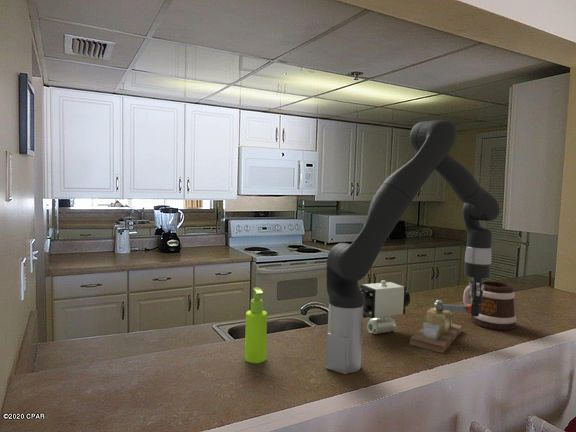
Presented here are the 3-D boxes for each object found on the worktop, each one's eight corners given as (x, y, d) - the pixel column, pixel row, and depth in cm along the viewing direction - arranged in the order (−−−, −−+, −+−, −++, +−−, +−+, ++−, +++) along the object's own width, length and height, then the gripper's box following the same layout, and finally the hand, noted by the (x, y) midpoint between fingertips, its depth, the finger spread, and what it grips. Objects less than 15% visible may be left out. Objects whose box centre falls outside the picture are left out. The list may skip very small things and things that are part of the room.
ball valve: (392, 324, 145) (395, 275, 144) (409, 332, 137) (411, 281, 136) (350, 330, 137) (352, 279, 136) (365, 339, 130) (367, 284, 128)
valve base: (442, 353, 120) (443, 346, 120) (409, 344, 126) (410, 338, 126) (461, 331, 140) (461, 325, 140) (432, 324, 146) (432, 319, 146)
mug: (524, 327, 146) (527, 286, 145) (501, 334, 138) (503, 291, 137) (474, 312, 163) (476, 275, 162) (450, 317, 155) (452, 279, 154)
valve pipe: (439, 341, 124) (440, 319, 123) (419, 337, 127) (420, 315, 127) (453, 326, 138) (454, 306, 138) (435, 322, 142) (436, 303, 141)
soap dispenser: (247, 365, 108) (249, 292, 107) (243, 355, 115) (244, 285, 113) (268, 363, 109) (270, 291, 108) (263, 353, 116) (265, 285, 115)
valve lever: (435, 311, 131) (435, 301, 131) (433, 308, 134) (433, 299, 134) (478, 314, 130) (478, 304, 129) (475, 311, 132) (476, 301, 132)
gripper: (494, 265, 120) (490, 323, 120) (488, 259, 132) (485, 311, 133) (466, 263, 122) (463, 319, 123) (463, 257, 135) (460, 308, 135)
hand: (474, 315), depth 128 cm, fingers closed
